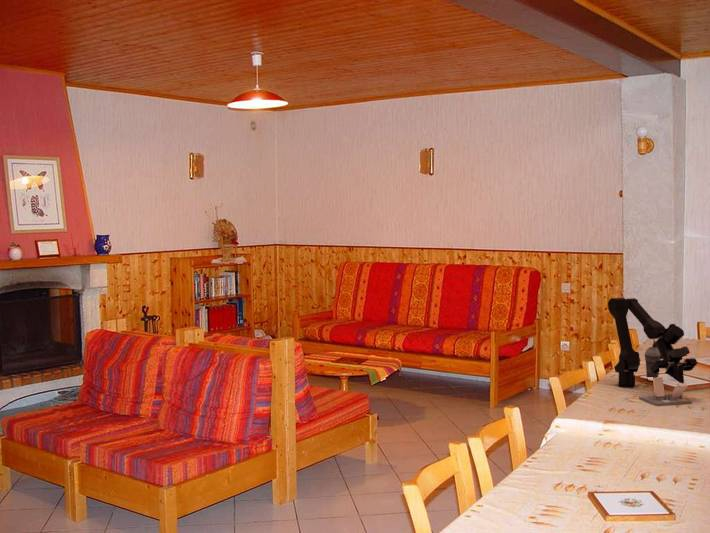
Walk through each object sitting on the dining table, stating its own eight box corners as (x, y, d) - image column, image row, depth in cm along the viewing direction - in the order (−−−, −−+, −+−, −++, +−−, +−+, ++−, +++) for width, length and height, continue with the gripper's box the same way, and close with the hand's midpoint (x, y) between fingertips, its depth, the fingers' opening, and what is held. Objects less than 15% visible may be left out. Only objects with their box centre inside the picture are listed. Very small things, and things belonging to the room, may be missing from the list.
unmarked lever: (654, 398, 335) (652, 377, 337) (663, 397, 336) (660, 377, 337) (656, 398, 334) (654, 377, 335) (665, 397, 335) (662, 377, 336)
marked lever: (669, 395, 337) (678, 383, 331) (677, 394, 338) (686, 382, 332) (671, 398, 336) (679, 385, 330) (679, 397, 337) (688, 385, 331)
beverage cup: (658, 379, 378) (659, 336, 377) (662, 382, 371) (663, 338, 369) (642, 379, 379) (643, 335, 377) (646, 382, 372) (647, 338, 370)
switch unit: (639, 399, 340) (639, 392, 339) (673, 396, 343) (673, 389, 343) (656, 406, 328) (656, 398, 328) (691, 403, 332) (691, 396, 332)
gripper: (655, 340, 333) (671, 373, 323) (695, 338, 338) (712, 371, 328) (643, 356, 341) (658, 388, 332) (682, 354, 346) (698, 385, 336)
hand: (682, 383), depth 332 cm, fingers closed, pressing on marked lever
